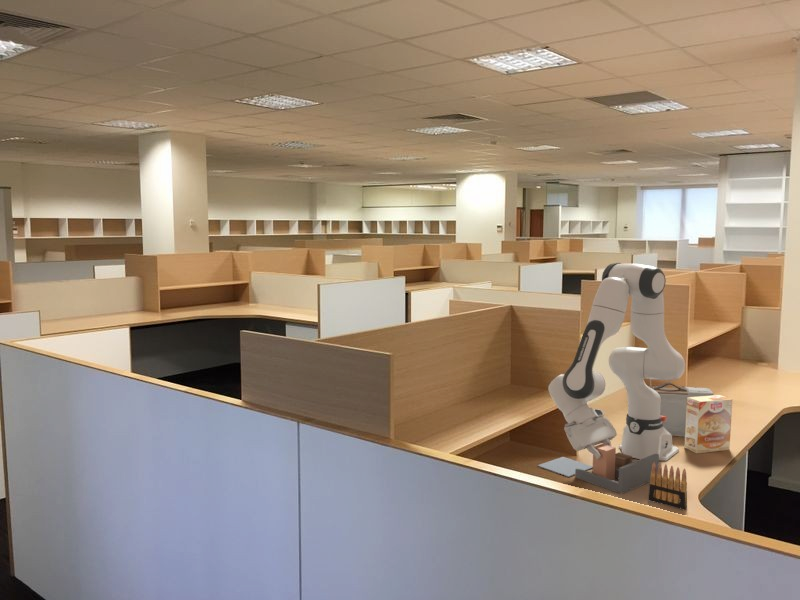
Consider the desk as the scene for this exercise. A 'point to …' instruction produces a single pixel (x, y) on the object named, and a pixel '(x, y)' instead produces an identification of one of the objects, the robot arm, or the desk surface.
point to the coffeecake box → (708, 423)
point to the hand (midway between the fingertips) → (606, 455)
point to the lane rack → (623, 475)
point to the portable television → (677, 405)
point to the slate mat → (565, 466)
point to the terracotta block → (605, 462)
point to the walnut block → (622, 460)
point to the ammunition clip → (668, 487)
